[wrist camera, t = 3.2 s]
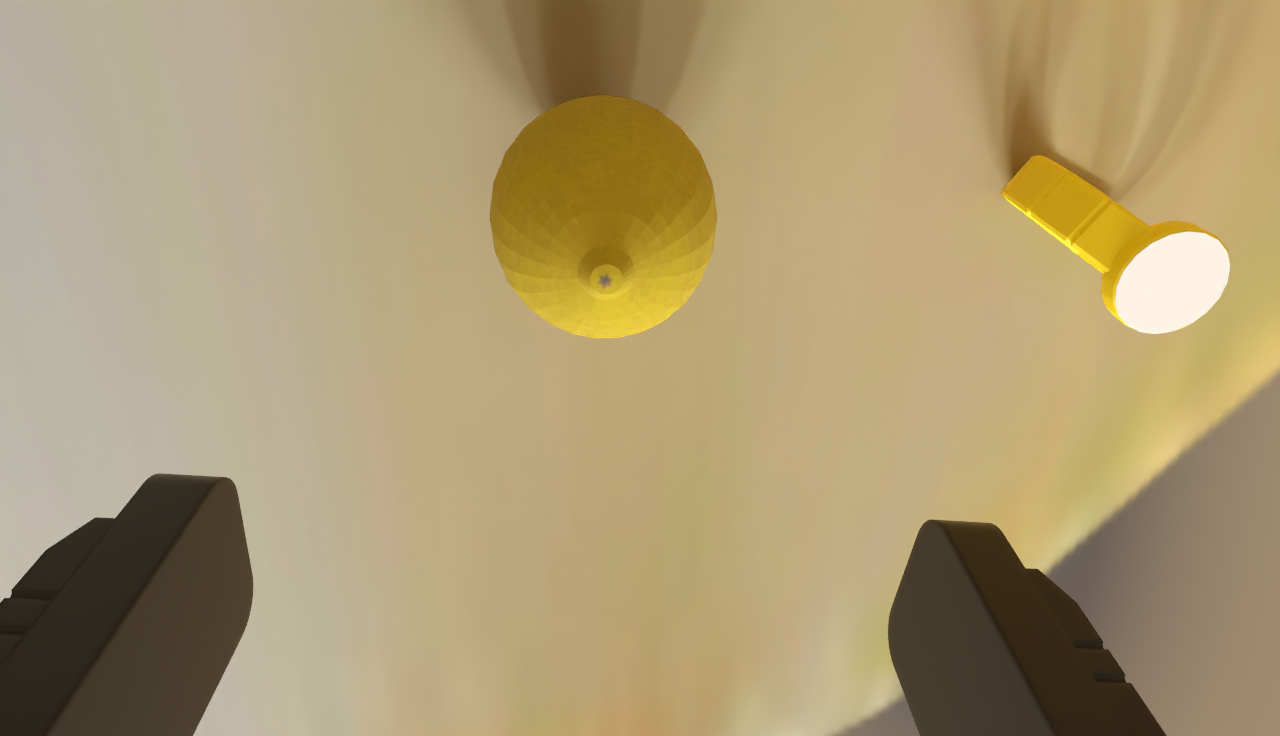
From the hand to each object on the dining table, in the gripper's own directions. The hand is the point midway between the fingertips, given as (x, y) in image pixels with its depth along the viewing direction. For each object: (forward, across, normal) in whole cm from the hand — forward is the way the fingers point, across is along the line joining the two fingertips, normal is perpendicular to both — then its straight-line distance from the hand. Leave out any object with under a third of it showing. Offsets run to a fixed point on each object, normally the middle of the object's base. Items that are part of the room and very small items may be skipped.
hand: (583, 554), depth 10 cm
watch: (+16, -14, 0) cm, 22 cm away
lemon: (+16, 0, 0) cm, 16 cm away
